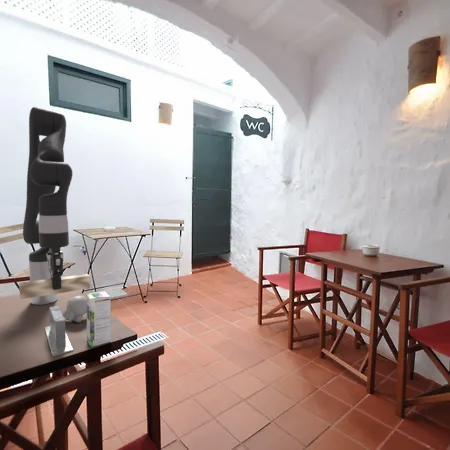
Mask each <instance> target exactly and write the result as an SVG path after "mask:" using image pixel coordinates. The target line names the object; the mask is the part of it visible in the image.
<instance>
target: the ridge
mask: <svg viewBox="0 0 450 450" xmlns="http://www.w3.org/2000/svg"><path fill="white" fill-rule="evenodd" d="M62 314H63V312H62V311H61V309H60V307H59V305H53V306H50V307H49V325H48V326H45V327H44V331H45V334H46V338H47V342H48V345H49V348H50V351H51V356H52V357H56V356H59V355H62V354H67V353H71V352H73V351H74V348H73V346H72V345H71V342H70V341H71V340H70V339H69V337H68V334H67V332H66V319H65V317H63V315H62Z"/></svg>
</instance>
